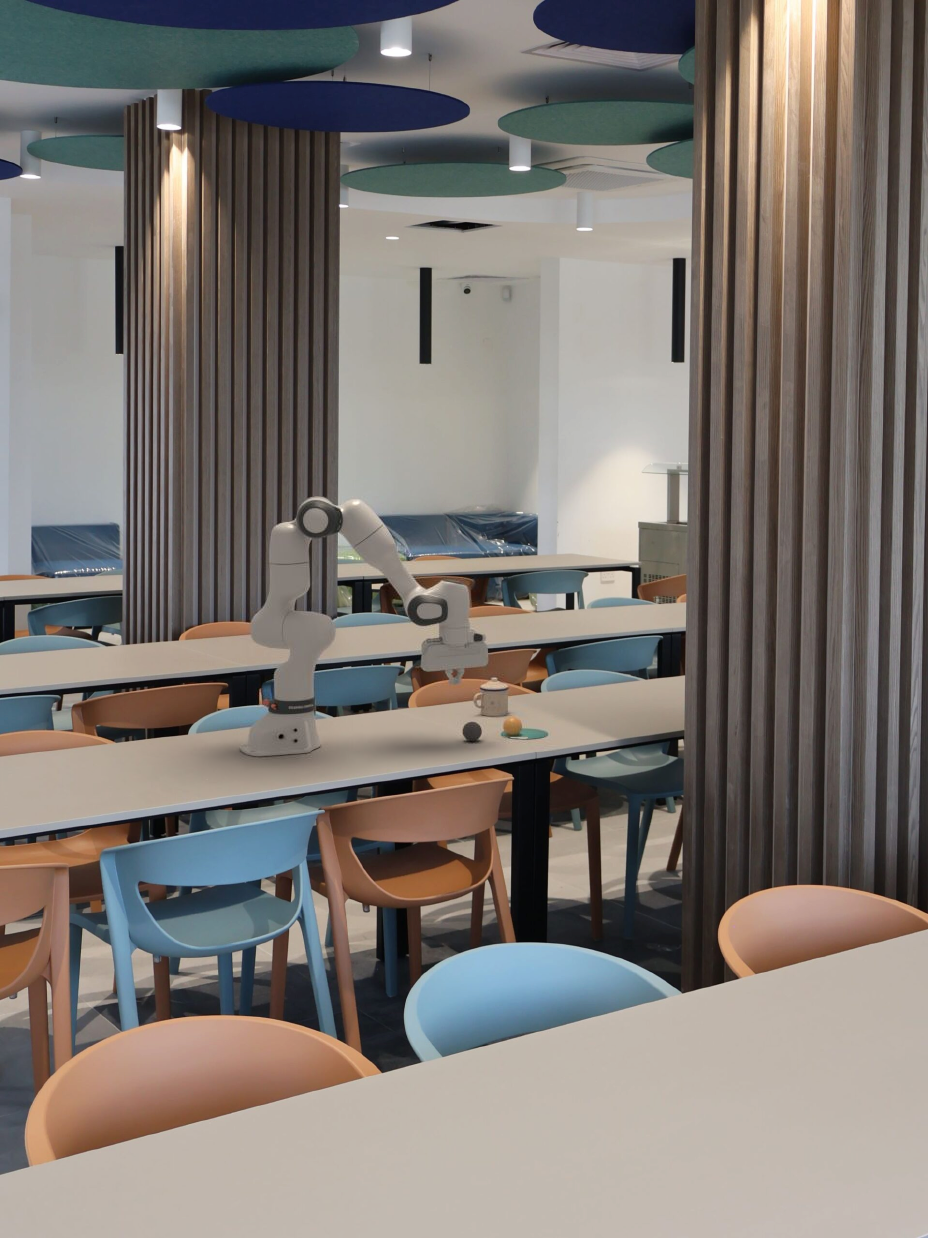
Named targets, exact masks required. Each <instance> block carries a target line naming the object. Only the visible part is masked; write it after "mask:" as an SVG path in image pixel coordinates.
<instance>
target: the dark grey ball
mask: <svg viewBox="0 0 928 1238" xmlns="http://www.w3.org/2000/svg"><path fill="white" fill-rule="evenodd" d="M482 733H483V731H482V726H481V724H479V723H477V722H475V721H469V722H466V724H464V725H463V728H462V735H463V737H464V739H466V740H467V741H469V742H474V741H475V742H476V741H477V740H479V739H480V738H481V736H482Z"/></svg>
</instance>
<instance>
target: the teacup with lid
mask: <svg viewBox="0 0 928 1238" xmlns="http://www.w3.org/2000/svg"><path fill="white" fill-rule="evenodd" d="M479 689H480V692H478V693H476V694H475V695H474V696H473V703H474V706H475V707H476V708H477V709H480V714H481V715H482V716H485V717H493V718H494V717H496V718H497V717H504V716H506V715H508V713H509V685H508V684H506V683H503V682H502V681H500V680H498V678H497V677H491V679H490V680H489V681H487V682H485V683H484V684H481V685H480V687H479ZM479 696H480V705H479V704H478V702H477V701H478V700H477V699H478V697H479Z"/></svg>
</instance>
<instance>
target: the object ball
mask: <svg viewBox="0 0 928 1238" xmlns="http://www.w3.org/2000/svg"><path fill="white" fill-rule="evenodd" d="M502 727H503V731H505V733H506V734H508V735H510V736H515V735H518V734H519V733H520V732H521V730H522V728H523V723H522V720H520V719H519V718H518V717H516V716H510V717H507V718H506V719H505V720H504V721H503V724H502Z"/></svg>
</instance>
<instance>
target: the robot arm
mask: <svg viewBox="0 0 928 1238" xmlns="http://www.w3.org/2000/svg"><path fill="white" fill-rule="evenodd" d="M338 533H339V534H340V535H341V536H343V537H344V538H345V540H346V541H347V542H348V544H349V545H350V547H352V549H353V550H354V552H355V553H356V554H357V555H358V556H359V557H360V559H362V560H363V561H364V562H365V563H366V564H367V565H369V566H370V567H372V568H374V569H376V570H378V571H379V572H380V573H381V574H382V575H384V576H385V578H386V579H387V580H388V582H389V583H390V585H392V587H393V588H394V589H395V591H396V592H397V594H398V595H399V597H400V599H401V602H402V607H403V611H404V613H405V615H406V617H408V619H409V620H410V621H411V622H412V623H413V624H415V625H416V626H418V627H429V626H434V625H437V624H438V637H433V638H426V639H425V640H424V641H422V643H421V658H420V669H422V670H423V672H429V673H430V672H437V671H445V674H446V676H447V678H448V683H449V685H450V686H454V685H455V686H456V685H461V684H462V683H461V681H462V677H463V675H464V673H465V669H470V668H480V667H486V666H487V665H488V663H489V650H488V645H487V643H486V640H487V635H486V634H484V633H481V632H479V631H476V630H474V629H473V630H472V629H471V625H470V620H469V616H470V611H471V608H470V607H471V606H470V593H469V588H468V585H466V584H465V582H462V581H460V580H457V579H449V578H446V579H442V580H440V581H439V582H438V583H437V584H435V585H434V586H432V587H431V586H430V587H429V588H426V587H425V586H422V585H421V584H419V582H418V581H417V580H416V579H415V578H414V576H413V575H412V574H411V573H410V572H411V571H409V570H408V568H407V567H406V566H405V564H404V563H403V562H402V560H401V558H400V555H399V552H398V548H397V544H396V541H395V540H394V538H393V536H392V534H391V532H390V530H389V529H388V527H387V526H386V525H385V524H384V522H383V520H381V518H380V517H379V516H378V515H377V514H376V513H375V511H374V510H373V509H372V508H371V507H370V506H369V505H368V504H367V503H366V502H364V501H363V500H361V499H359V498H351V499H349V500H347V501H345V502H343V503H342V504H340V505H335V504H334V503H333V502H332V501H331V499H329V498H328V497H326V496H323V495H314V496H310V497H307V499H305V500H304V501H302V503H301V504H300V505H299V508H298V510H297V513H296V515H295V516H294V520H291V521H284V522H281V523H278V524H276V525H275V526H274V527H273V528H272V529H271V533H270V539H269V549H268V550H269V552H268V555H269V556H268V558H269V559H268V560H269V589H268V595H267V597H266V601H265V603H264V604H263V606H262V607H261V608H260V610H259V611H257V613H255V614H254V615H253V617H252V618H251V621H250V625H249V632H250V637H251V639H252V641H253V642H254V643H255V644H256V645H259V646H262V647H265V648H269V649H277V650H278V649H279V650H289V657H288V660H287V661H285V662H283V663H282V664H280V665H279V666H277V668H276V669H275V670H274V674H273V684H274V685H273V687H274V688H273V692H274V693H273V694H274V697H273V698H272V699H271V700H270V699H267V698H265V699H263V701H262V706H263V707H266V708H267V709H268V712H266V713H265V714H264V715H263V716H262V717H261V718H259V720H257V721H256V722H255V723H253V724H252V725H251V727H250V729H249V731H248V737H247V742H245V743H241V745H240V748H239V749H240V751H241V752H242V753H243V754H246V755H248V756H251V757H252V756H253V757H267V756H268V757H269V756H270V757H271V756H282V755H297V754H307V753H308V754H309V753H310V752H312V751H313V750H315V749H319V747H320V746H322V745H321V742H320V738H319V734H318V730H317V723H316V714H317V704H316V703H317V702H316V696H314V689H315V688H314V684H315V683H314V680H315V670H316V665H317V662H318V660H319V658H320V657H321V655H322V654H324V652H325V651H326V650H327V649H329V648H330V647H331V645H332V644H333V642H334V640H335V638H336V634H337V633H336V626H335V623H334V621H333V619H332V617H330V616H329V615H327V614H323V613H319V612H316V611H307V610H306V611H305V610H302V611H301V610H295V605H296V601H297V599H299V598H301V597H302V596H304V595H305V594H307V593H308V591H309V589H310V587H311V572H310V571H311V570H310V553H309V551H310V550H309V549H310V543H311V541H312V540H316V539H317V540H318V539H323V538H326V537H329V536H332V535H334V534H338ZM454 670H456V672H457V674H456V676H455V677H454V676H453V673H454Z"/></svg>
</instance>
